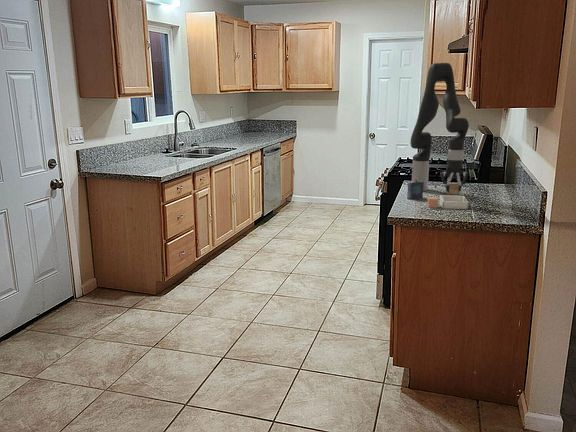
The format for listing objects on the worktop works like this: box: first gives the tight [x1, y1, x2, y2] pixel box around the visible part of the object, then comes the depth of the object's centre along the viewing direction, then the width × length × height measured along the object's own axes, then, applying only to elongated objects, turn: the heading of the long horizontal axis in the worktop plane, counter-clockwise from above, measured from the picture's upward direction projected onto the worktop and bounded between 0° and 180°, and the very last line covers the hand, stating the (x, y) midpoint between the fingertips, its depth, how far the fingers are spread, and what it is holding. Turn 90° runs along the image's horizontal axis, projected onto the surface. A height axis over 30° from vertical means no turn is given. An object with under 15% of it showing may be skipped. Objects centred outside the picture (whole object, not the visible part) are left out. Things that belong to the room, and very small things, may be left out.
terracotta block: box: [427, 196, 439, 209], centre depth 251 cm, size 4×4×4 cm
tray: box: [438, 194, 469, 210], centre depth 253 cm, size 15×12×4 cm
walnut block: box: [447, 182, 460, 195], centre depth 255 cm, size 4×4×4 cm
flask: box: [406, 178, 424, 200], centre depth 270 cm, size 9×3×11 cm, turn 109°
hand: (453, 192), depth 255 cm, fingers closed on walnut block, 4 cm apart
